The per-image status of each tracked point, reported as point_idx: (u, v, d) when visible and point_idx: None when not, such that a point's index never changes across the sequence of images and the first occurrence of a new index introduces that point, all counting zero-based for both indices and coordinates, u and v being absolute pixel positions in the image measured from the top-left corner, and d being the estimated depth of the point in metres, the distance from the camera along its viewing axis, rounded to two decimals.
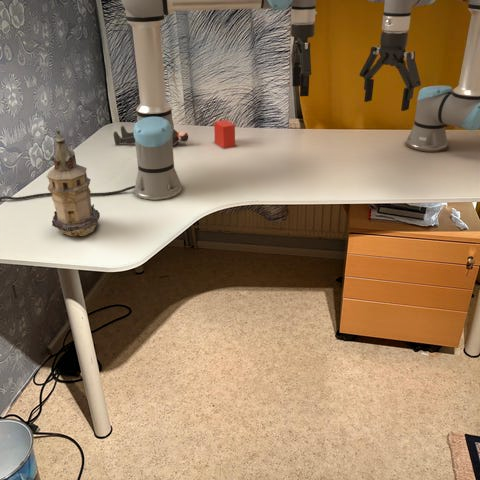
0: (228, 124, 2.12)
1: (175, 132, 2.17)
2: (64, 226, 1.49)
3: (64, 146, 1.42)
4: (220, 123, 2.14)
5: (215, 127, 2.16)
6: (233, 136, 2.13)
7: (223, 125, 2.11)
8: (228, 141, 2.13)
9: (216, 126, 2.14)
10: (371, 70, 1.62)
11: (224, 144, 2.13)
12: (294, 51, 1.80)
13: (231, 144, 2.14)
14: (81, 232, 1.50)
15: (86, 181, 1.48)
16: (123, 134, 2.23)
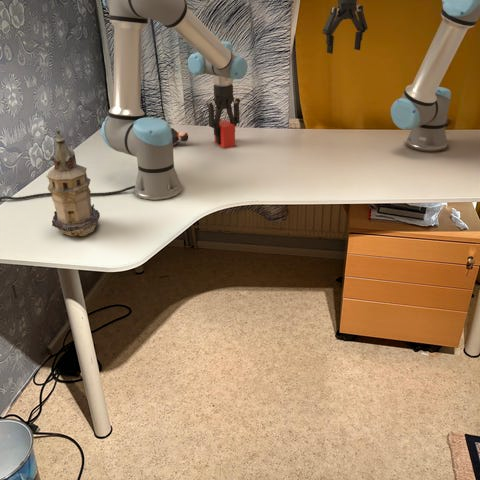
0: (228, 124, 2.12)
1: (175, 132, 2.17)
2: (64, 226, 1.49)
3: (64, 146, 1.42)
4: (220, 123, 2.14)
5: None
6: (233, 136, 2.13)
7: (223, 125, 2.11)
8: (228, 141, 2.13)
9: None
10: (335, 26, 2.04)
11: (224, 144, 2.13)
12: None
13: (231, 144, 2.14)
14: (81, 232, 1.50)
15: (86, 181, 1.48)
16: None
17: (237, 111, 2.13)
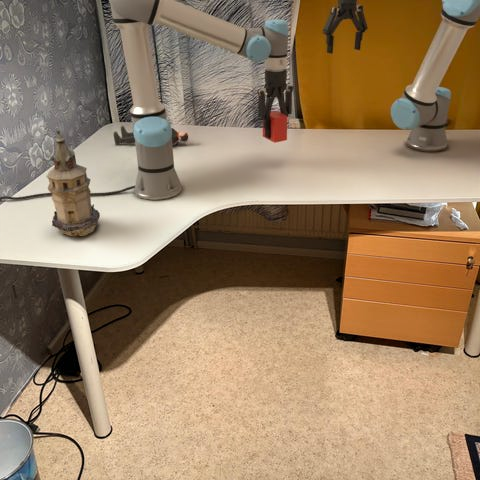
0: (280, 115, 1.87)
1: (175, 132, 2.17)
2: (64, 226, 1.49)
3: (64, 146, 1.42)
4: (270, 114, 1.88)
5: None
6: (285, 128, 1.88)
7: (274, 116, 1.86)
8: (280, 134, 1.88)
9: None
10: (335, 26, 2.04)
11: (275, 138, 1.88)
12: (285, 99, 1.89)
13: (283, 138, 1.89)
14: (81, 232, 1.50)
15: (86, 181, 1.48)
16: (123, 134, 2.23)
17: (290, 100, 1.87)
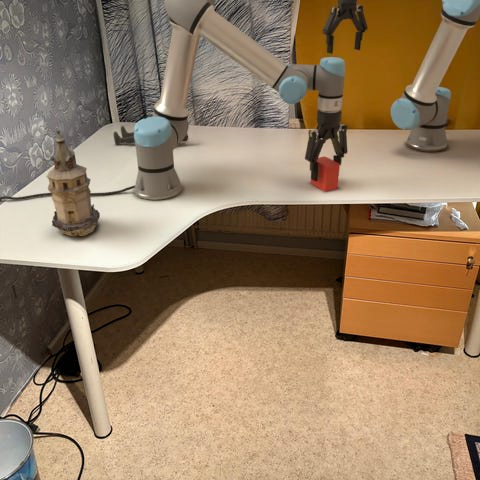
0: (331, 163, 1.74)
1: None
2: (64, 226, 1.49)
3: (64, 146, 1.42)
4: (321, 161, 1.76)
5: None
6: (337, 176, 1.76)
7: (326, 164, 1.73)
8: (331, 183, 1.76)
9: None
10: (335, 26, 2.04)
11: (326, 187, 1.75)
12: (339, 138, 1.76)
13: (334, 186, 1.77)
14: (81, 232, 1.50)
15: (86, 181, 1.48)
16: (123, 134, 2.23)
17: (344, 140, 1.74)
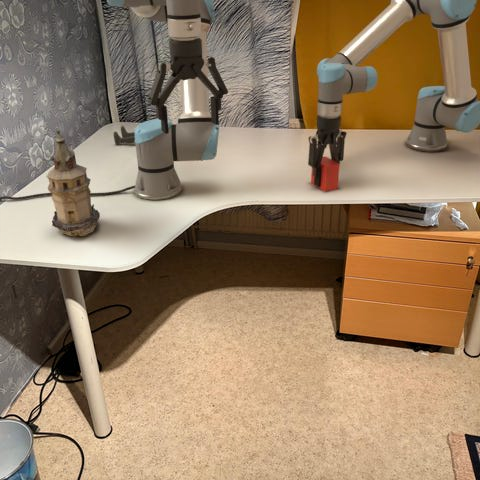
0: (331, 163, 1.74)
1: None
2: (64, 226, 1.49)
3: (64, 146, 1.42)
4: None
5: None
6: (337, 176, 1.76)
7: (326, 164, 1.73)
8: (331, 183, 1.76)
9: None
10: (320, 157, 1.72)
11: (326, 187, 1.75)
12: (212, 76, 1.32)
13: (334, 186, 1.77)
14: (81, 232, 1.50)
15: (86, 181, 1.48)
16: (123, 134, 2.23)
17: (217, 77, 1.30)
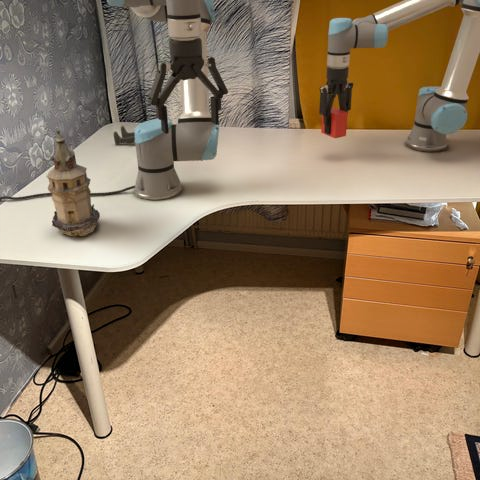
0: (340, 111, 1.91)
1: None
2: (64, 226, 1.49)
3: (64, 146, 1.42)
4: None
5: None
6: (345, 124, 1.93)
7: (335, 112, 1.90)
8: (340, 130, 1.92)
9: None
10: (330, 106, 1.89)
11: (335, 134, 1.92)
12: (212, 76, 1.32)
13: (342, 133, 1.94)
14: (81, 232, 1.50)
15: (86, 181, 1.48)
16: (123, 134, 2.23)
17: (217, 77, 1.30)
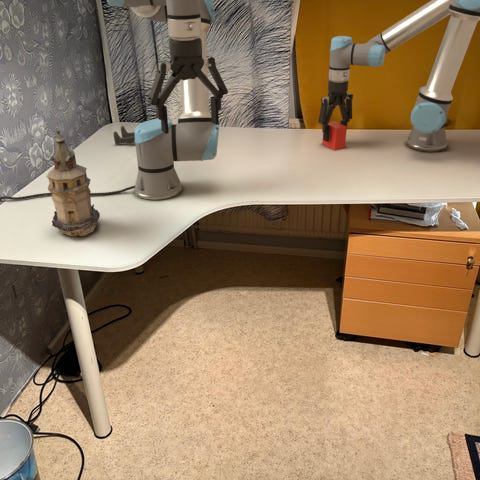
0: (340, 125, 2.09)
1: None
2: (64, 226, 1.49)
3: (64, 146, 1.42)
4: (331, 124, 2.10)
5: None
6: (344, 137, 2.10)
7: (335, 126, 2.08)
8: (339, 143, 2.10)
9: None
10: (329, 116, 2.05)
11: (335, 146, 2.10)
12: (212, 76, 1.32)
13: (342, 145, 2.11)
14: (81, 232, 1.50)
15: (86, 181, 1.48)
16: (123, 134, 2.23)
17: (217, 77, 1.30)
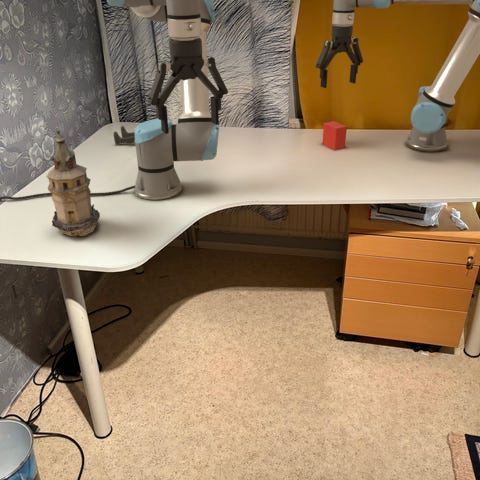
0: (340, 125, 2.09)
1: None
2: (64, 226, 1.49)
3: (64, 146, 1.42)
4: (331, 124, 2.10)
5: (324, 128, 2.12)
6: (344, 137, 2.10)
7: (335, 126, 2.08)
8: (339, 142, 2.10)
9: (326, 127, 2.11)
10: (329, 60, 1.94)
11: (335, 146, 2.09)
12: (212, 76, 1.32)
13: (342, 145, 2.11)
14: (81, 232, 1.50)
15: (86, 181, 1.48)
16: (123, 134, 2.23)
17: (217, 77, 1.30)
